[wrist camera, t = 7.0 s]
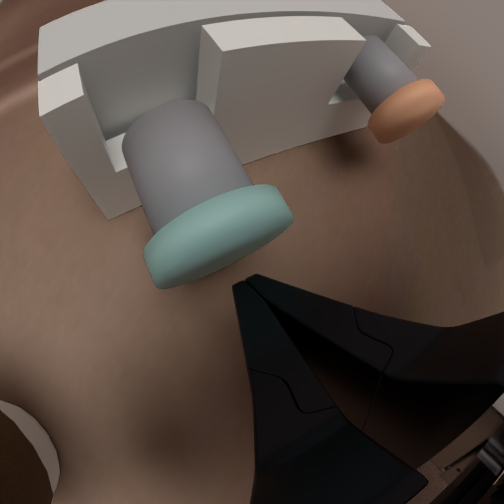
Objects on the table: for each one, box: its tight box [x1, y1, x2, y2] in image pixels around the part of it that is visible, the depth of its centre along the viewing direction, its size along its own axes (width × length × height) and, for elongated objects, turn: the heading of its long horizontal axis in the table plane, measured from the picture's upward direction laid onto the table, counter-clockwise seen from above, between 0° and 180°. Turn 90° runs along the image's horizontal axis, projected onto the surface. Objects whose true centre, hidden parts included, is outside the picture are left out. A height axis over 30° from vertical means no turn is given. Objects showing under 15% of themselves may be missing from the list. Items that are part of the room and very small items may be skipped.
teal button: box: [122, 99, 294, 289], centre depth 10 cm, size 5×5×5 cm
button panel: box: [38, 0, 432, 220], centre depth 14 cm, size 7×20×10 cm, turn 118°
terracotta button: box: [343, 35, 445, 144], centre depth 13 cm, size 5×5×5 cm
